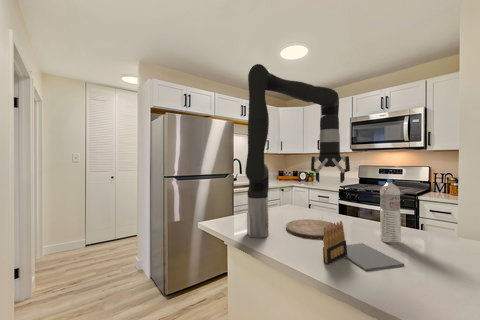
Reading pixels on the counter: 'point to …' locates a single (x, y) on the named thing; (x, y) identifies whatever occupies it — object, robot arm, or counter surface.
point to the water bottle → (390, 213)
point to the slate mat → (369, 258)
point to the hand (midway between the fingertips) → (329, 182)
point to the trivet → (308, 228)
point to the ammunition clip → (334, 243)
